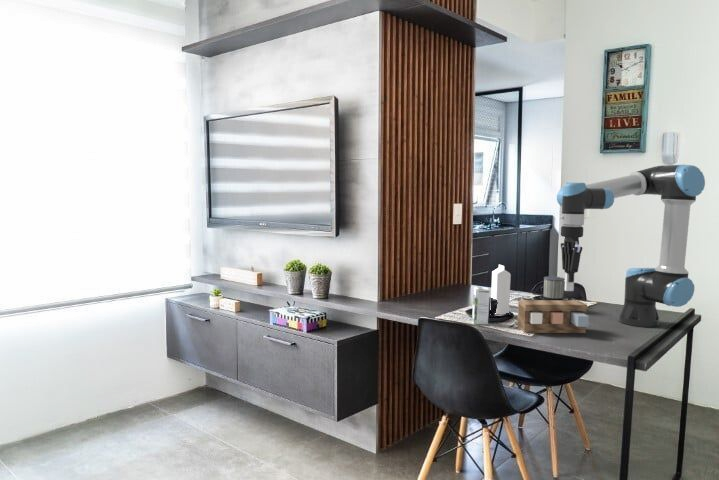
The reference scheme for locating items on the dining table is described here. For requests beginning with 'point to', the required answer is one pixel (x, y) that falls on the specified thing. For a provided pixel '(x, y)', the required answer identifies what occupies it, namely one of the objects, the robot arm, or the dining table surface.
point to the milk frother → (553, 288)
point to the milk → (501, 289)
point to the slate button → (579, 319)
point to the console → (545, 309)
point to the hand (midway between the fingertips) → (568, 290)
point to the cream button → (535, 317)
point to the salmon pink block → (556, 317)
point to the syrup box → (480, 305)
